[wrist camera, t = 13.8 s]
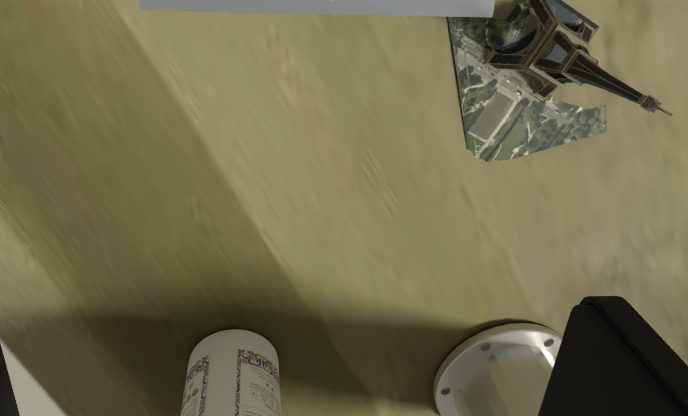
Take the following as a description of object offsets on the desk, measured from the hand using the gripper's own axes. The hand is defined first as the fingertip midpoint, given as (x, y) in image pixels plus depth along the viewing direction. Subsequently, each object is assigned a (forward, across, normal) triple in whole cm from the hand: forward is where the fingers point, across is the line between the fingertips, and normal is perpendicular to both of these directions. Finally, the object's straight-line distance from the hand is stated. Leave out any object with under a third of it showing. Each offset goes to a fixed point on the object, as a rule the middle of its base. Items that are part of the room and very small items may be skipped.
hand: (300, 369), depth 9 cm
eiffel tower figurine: (+28, -16, -1) cm, 32 cm away
